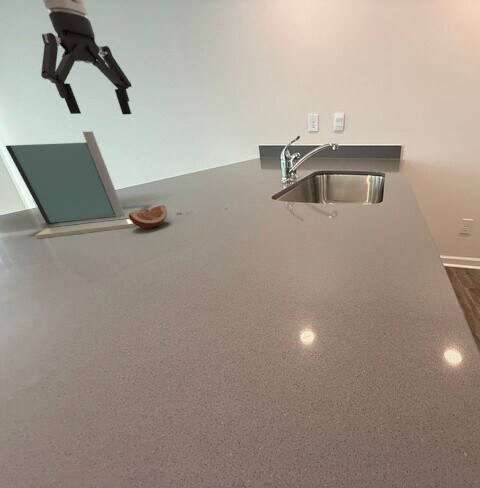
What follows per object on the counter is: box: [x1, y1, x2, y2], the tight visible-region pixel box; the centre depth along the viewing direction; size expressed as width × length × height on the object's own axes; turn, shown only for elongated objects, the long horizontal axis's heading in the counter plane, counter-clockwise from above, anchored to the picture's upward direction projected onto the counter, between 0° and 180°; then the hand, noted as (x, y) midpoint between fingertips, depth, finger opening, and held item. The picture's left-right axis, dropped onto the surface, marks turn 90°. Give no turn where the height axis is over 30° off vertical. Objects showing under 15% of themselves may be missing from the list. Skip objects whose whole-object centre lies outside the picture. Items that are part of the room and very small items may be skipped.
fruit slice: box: [128, 204, 168, 229], centre depth 66 cm, size 8×7×5 cm
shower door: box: [5, 141, 116, 224], centre depth 69 cm, size 15×9×19 cm, turn 109°
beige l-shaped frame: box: [35, 130, 136, 240], centre depth 66 cm, size 20×16×23 cm
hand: (103, 114), depth 71 cm, fingers open, 13 cm apart
